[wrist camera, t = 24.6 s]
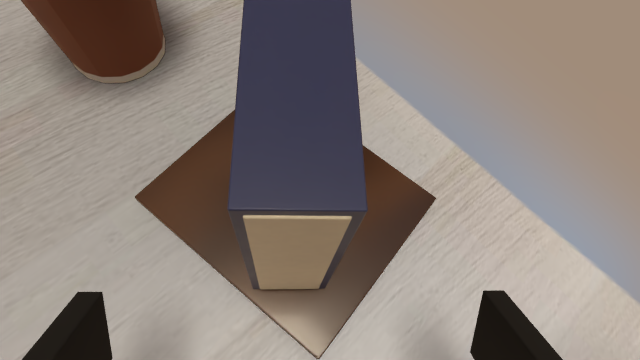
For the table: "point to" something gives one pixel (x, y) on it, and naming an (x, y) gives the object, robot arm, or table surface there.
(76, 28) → the coffee cup
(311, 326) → the placemat
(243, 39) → the small book
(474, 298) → the table surface
